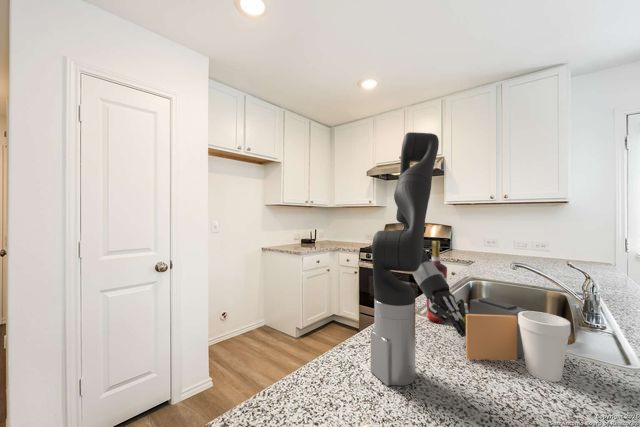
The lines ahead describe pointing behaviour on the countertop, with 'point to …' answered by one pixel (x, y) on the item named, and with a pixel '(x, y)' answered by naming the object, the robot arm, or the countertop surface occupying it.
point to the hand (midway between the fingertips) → (466, 335)
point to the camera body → (498, 308)
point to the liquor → (443, 272)
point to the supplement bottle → (465, 313)
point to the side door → (491, 337)
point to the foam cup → (544, 343)
